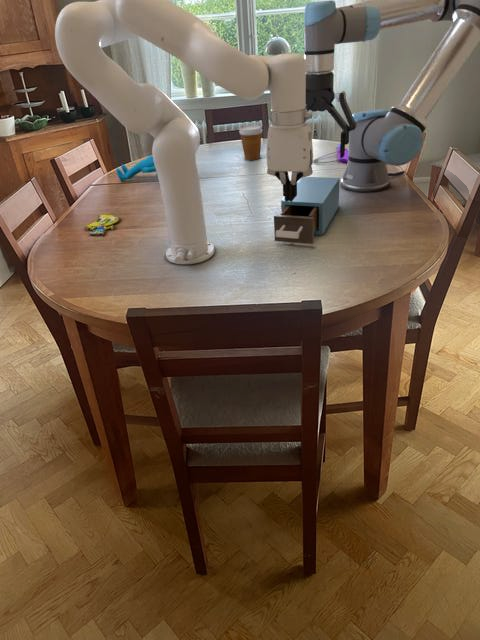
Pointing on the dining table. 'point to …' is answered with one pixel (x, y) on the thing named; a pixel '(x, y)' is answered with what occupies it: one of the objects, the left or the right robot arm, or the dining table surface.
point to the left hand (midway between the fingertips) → (290, 199)
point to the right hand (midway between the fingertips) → (318, 156)
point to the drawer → (296, 224)
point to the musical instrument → (338, 156)
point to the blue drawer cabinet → (317, 198)
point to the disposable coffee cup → (251, 141)
